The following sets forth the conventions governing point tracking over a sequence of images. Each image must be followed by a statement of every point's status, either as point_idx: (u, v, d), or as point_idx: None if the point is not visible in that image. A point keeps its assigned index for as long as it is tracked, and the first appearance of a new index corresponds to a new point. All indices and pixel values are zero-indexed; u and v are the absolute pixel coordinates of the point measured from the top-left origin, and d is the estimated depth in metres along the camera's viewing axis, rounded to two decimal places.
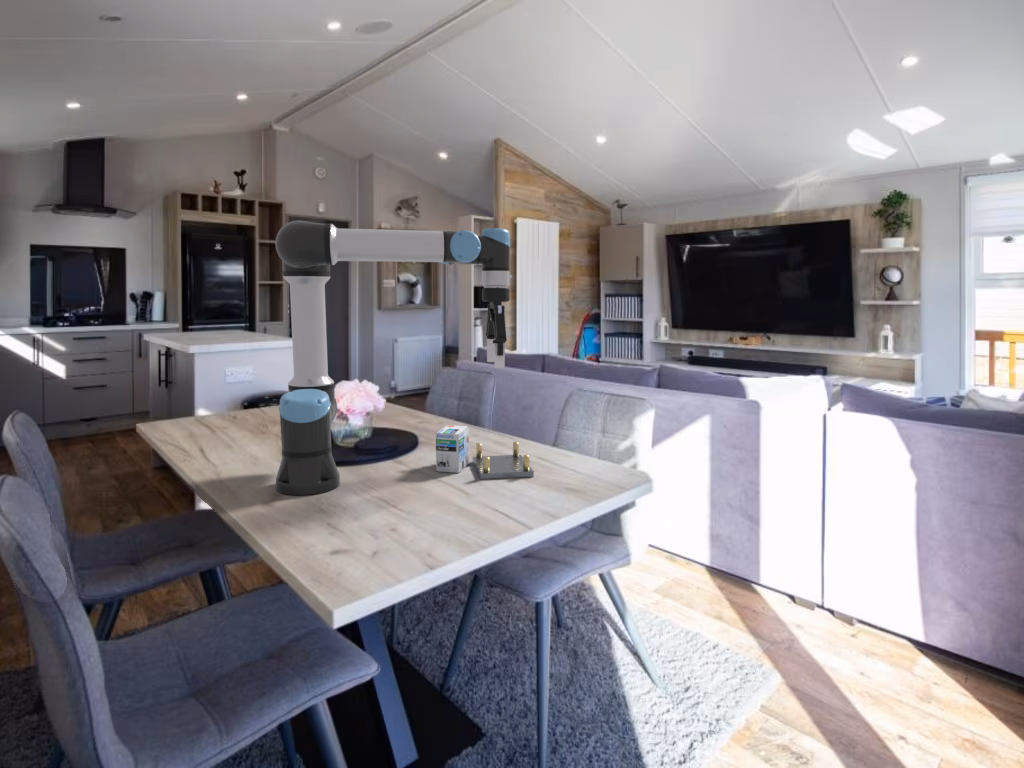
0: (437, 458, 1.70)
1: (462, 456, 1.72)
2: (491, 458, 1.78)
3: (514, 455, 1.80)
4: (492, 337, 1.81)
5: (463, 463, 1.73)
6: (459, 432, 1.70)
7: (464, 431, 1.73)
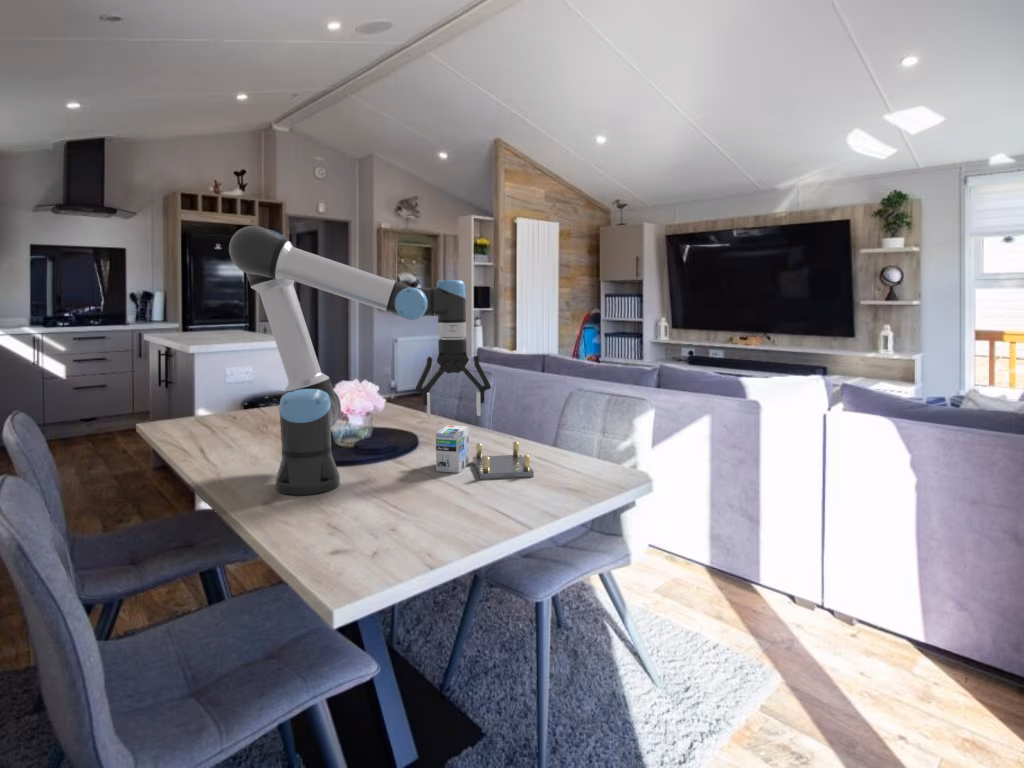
0: (437, 458, 1.70)
1: (462, 456, 1.72)
2: (491, 458, 1.78)
3: (514, 455, 1.80)
4: (479, 389, 1.73)
5: (463, 463, 1.73)
6: (459, 432, 1.70)
7: (464, 431, 1.74)
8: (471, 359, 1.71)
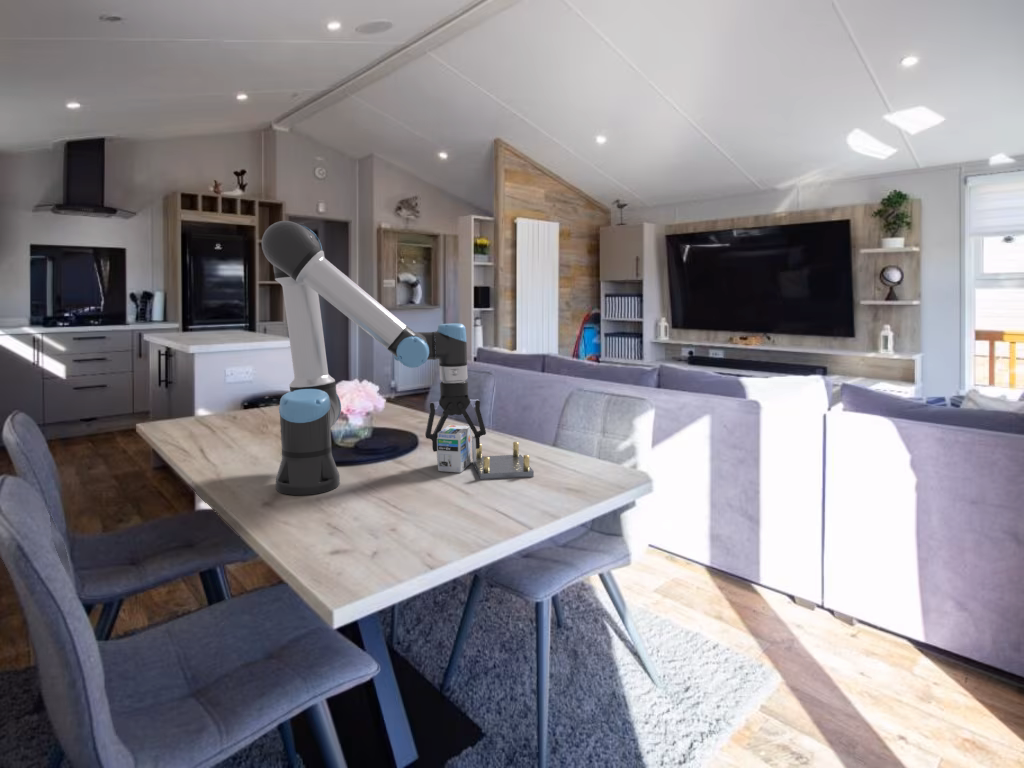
0: (439, 458, 1.70)
1: (464, 455, 1.72)
2: (491, 458, 1.78)
3: (514, 455, 1.80)
4: None
5: (465, 463, 1.73)
6: (461, 432, 1.70)
7: (466, 431, 1.74)
8: (472, 402, 1.73)
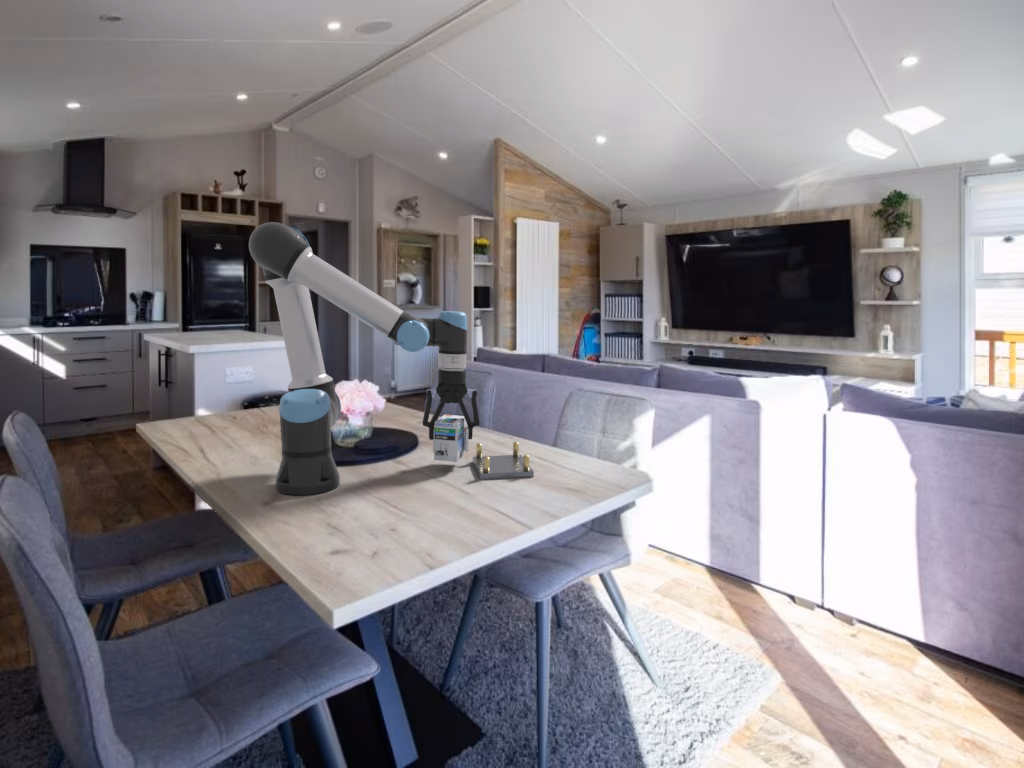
0: (435, 447, 1.69)
1: (460, 445, 1.71)
2: (491, 458, 1.78)
3: (514, 455, 1.80)
4: None
5: (461, 452, 1.72)
6: (458, 421, 1.69)
7: (462, 420, 1.73)
8: (469, 392, 1.72)
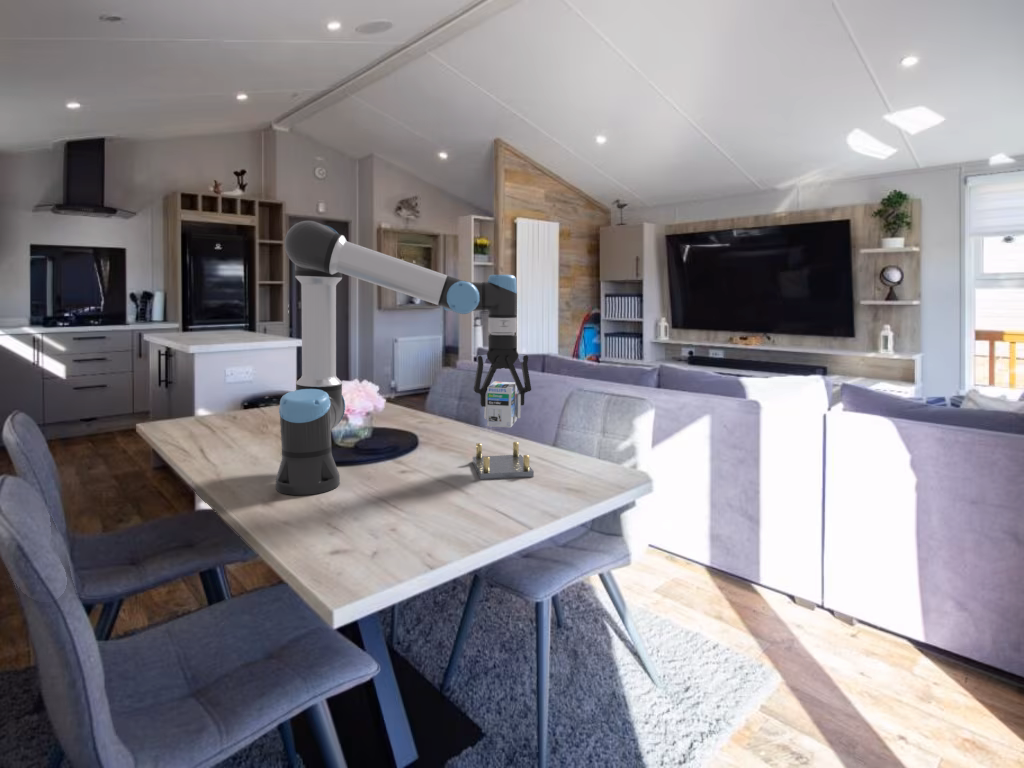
0: (488, 413, 1.66)
1: (513, 411, 1.68)
2: (491, 458, 1.78)
3: (514, 455, 1.80)
4: (519, 391, 1.71)
5: (513, 418, 1.70)
6: (511, 386, 1.66)
7: (514, 386, 1.70)
8: (520, 357, 1.69)
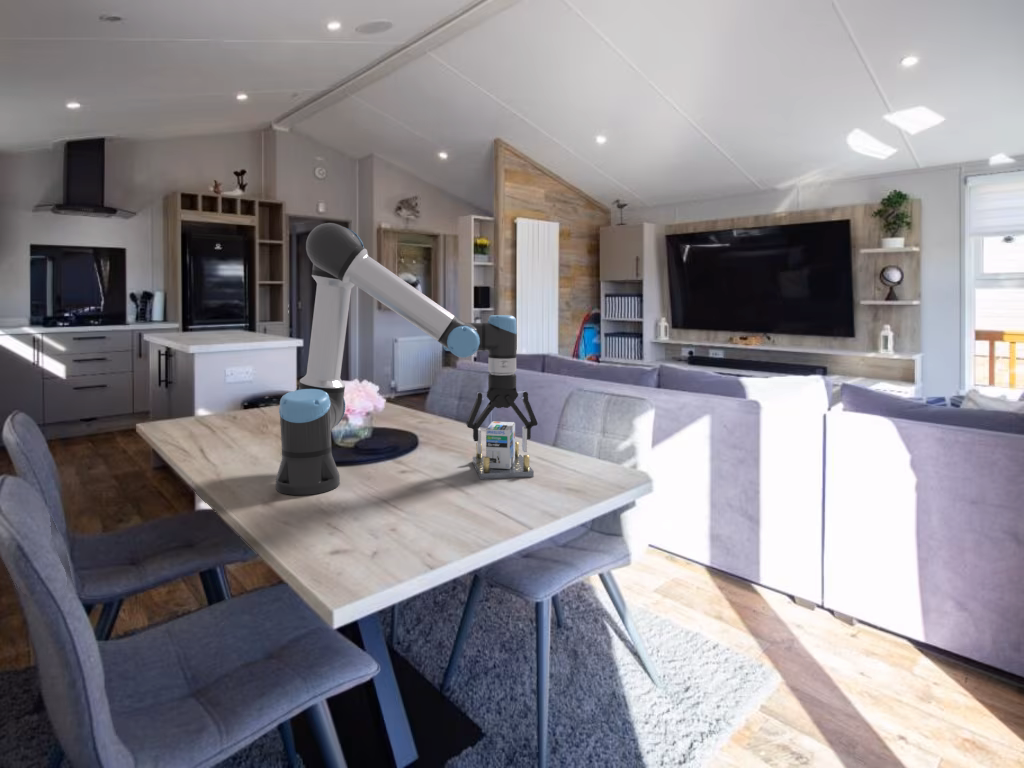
0: (487, 454, 1.68)
1: (512, 452, 1.70)
2: None
3: None
4: (526, 426, 1.73)
5: (512, 459, 1.71)
6: (509, 428, 1.68)
7: (512, 427, 1.72)
8: (520, 394, 1.71)
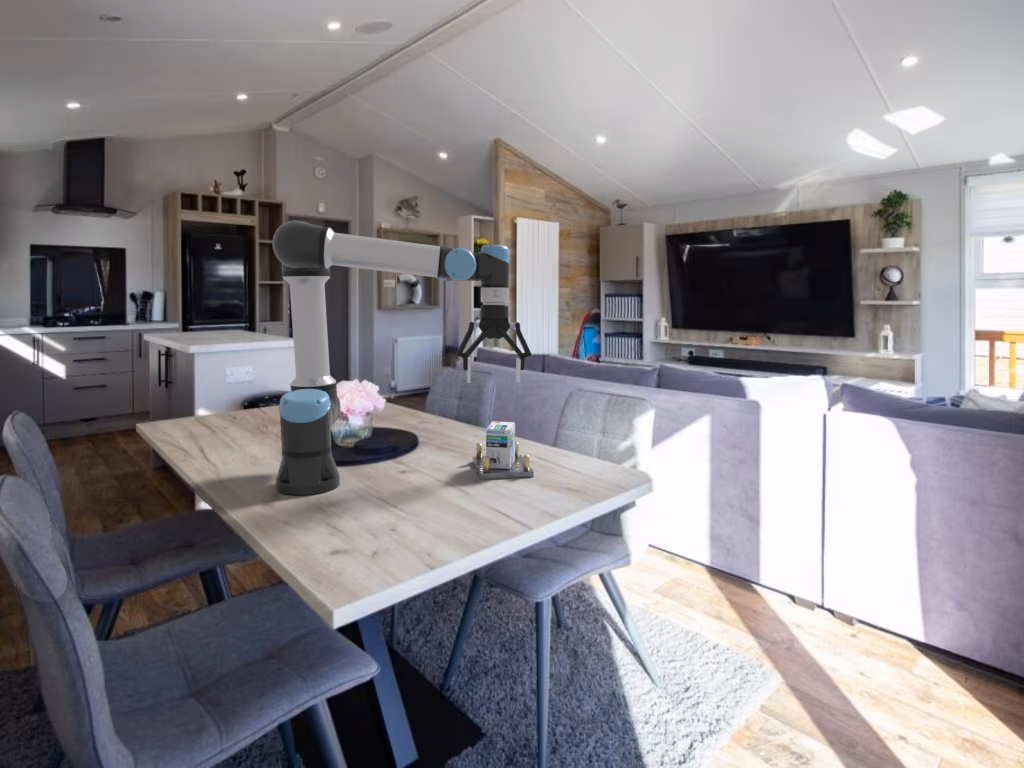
0: (487, 454, 1.68)
1: (512, 452, 1.70)
2: None
3: None
4: (519, 356, 1.73)
5: (512, 459, 1.71)
6: (509, 428, 1.68)
7: (512, 427, 1.72)
8: (512, 325, 1.71)
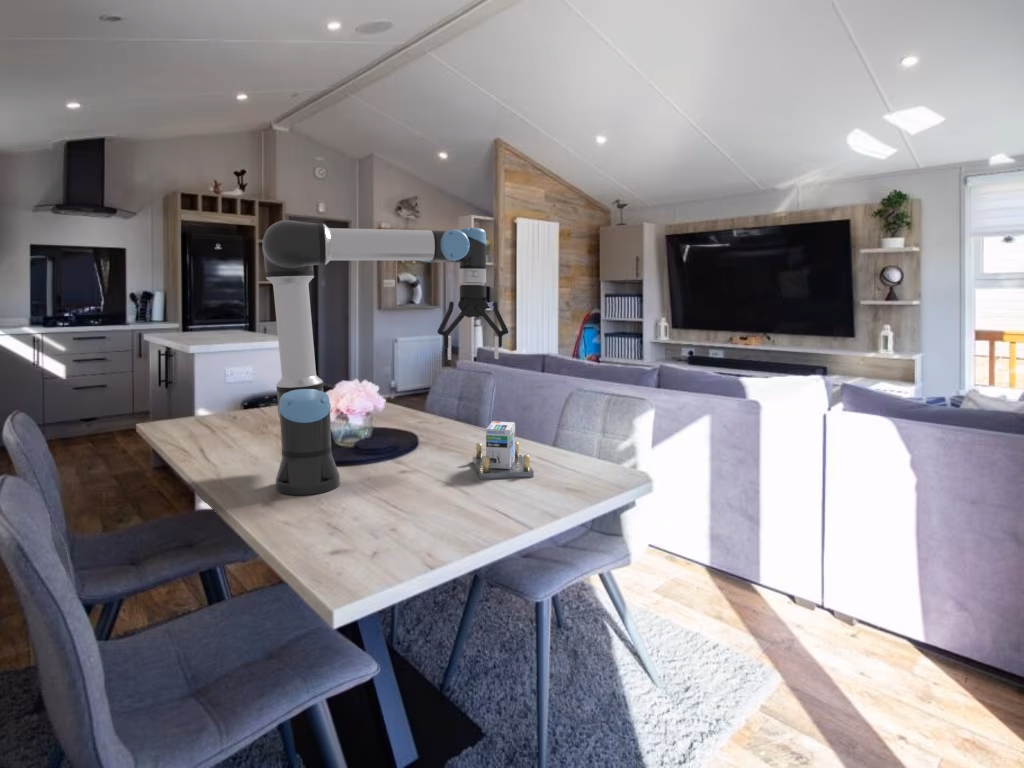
0: (487, 454, 1.68)
1: (512, 452, 1.70)
2: None
3: None
4: (497, 334, 1.82)
5: (512, 459, 1.71)
6: (509, 428, 1.68)
7: (512, 427, 1.72)
8: (490, 305, 1.81)
